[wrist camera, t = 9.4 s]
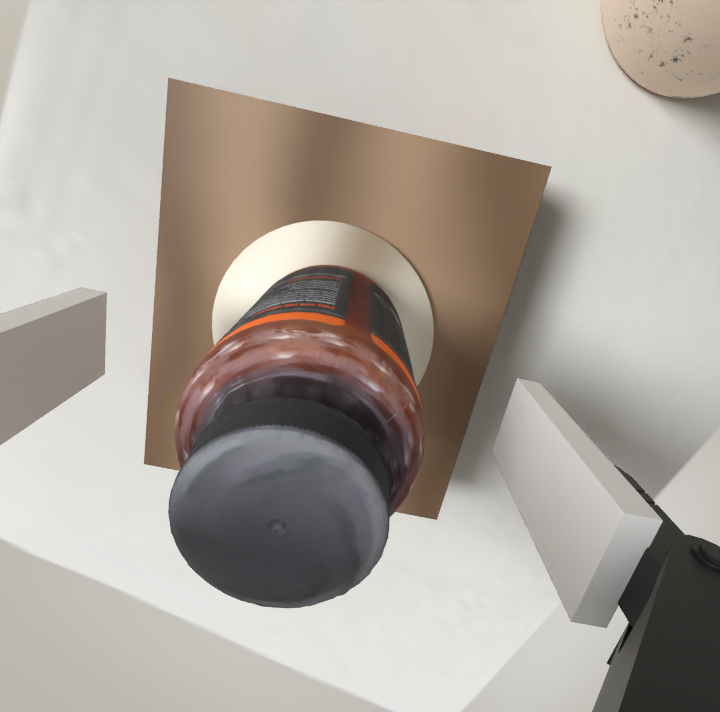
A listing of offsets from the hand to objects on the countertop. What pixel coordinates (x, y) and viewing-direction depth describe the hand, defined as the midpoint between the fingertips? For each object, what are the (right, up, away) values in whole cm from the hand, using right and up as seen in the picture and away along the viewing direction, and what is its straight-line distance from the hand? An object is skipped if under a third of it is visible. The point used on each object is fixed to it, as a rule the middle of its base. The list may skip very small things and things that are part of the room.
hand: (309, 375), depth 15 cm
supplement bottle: (0, +2, +4) cm, 5 cm away
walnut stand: (0, +3, +9) cm, 10 cm away
